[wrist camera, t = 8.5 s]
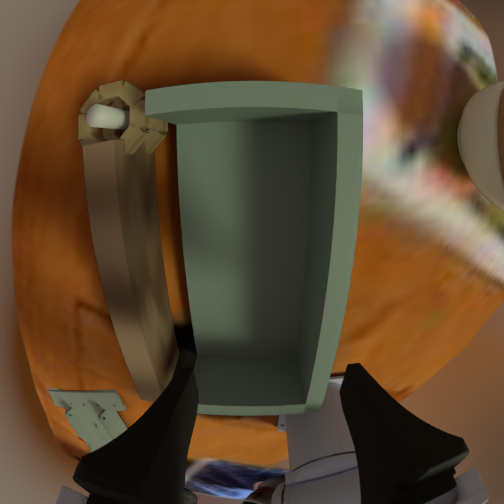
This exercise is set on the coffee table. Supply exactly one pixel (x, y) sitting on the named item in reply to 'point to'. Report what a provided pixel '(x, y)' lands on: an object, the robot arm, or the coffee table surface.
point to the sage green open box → (263, 233)
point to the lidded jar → (484, 141)
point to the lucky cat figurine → (264, 491)
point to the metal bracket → (92, 414)
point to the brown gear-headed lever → (130, 235)
